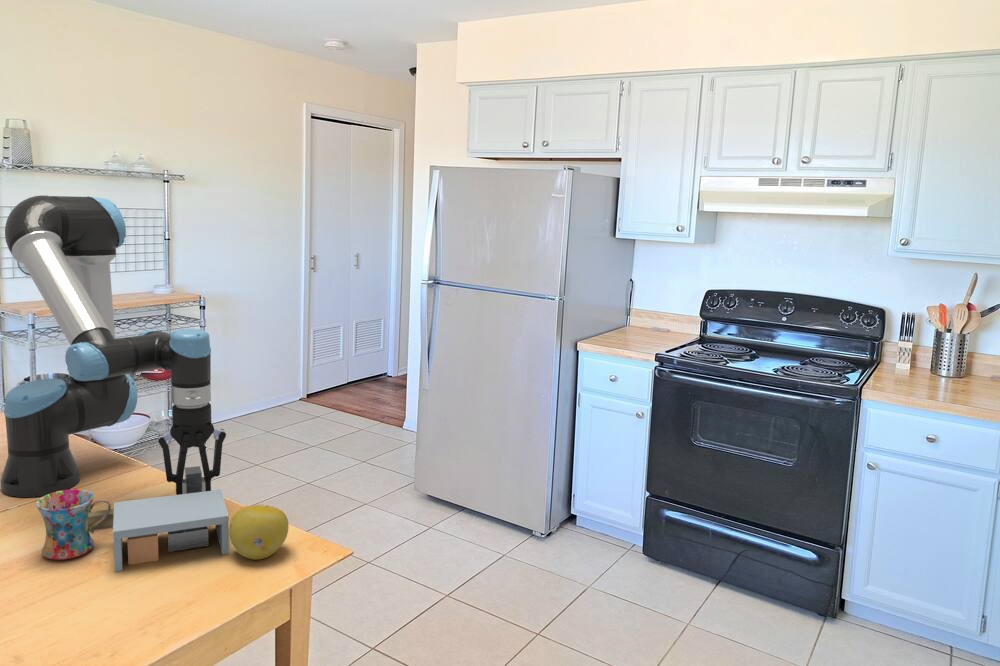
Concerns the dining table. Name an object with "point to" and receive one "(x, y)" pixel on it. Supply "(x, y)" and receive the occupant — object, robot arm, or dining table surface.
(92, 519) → the l-shaped tan bracket
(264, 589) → the dining table surface
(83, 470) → the dining table surface
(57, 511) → the mug
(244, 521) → the fruit
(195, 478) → the grey piece
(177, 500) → the grey u-shaped bridge
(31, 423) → the robot arm
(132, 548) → the block
